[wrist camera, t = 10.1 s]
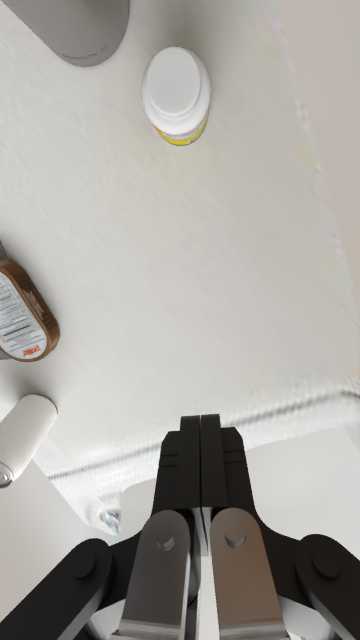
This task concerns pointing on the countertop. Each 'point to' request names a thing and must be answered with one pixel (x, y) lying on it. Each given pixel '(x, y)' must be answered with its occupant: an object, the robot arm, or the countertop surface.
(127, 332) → the countertop surface
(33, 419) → the can
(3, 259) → the tin
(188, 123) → the supplement bottle
